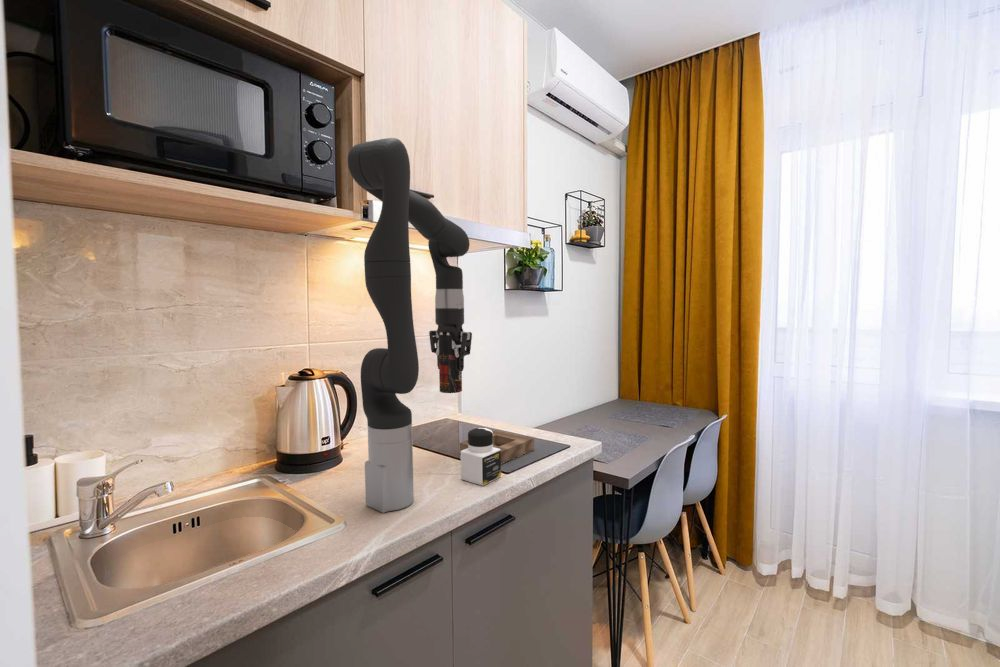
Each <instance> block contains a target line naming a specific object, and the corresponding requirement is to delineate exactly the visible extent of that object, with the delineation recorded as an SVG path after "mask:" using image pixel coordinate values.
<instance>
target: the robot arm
mask: <svg viewBox="0 0 1000 667" xmlns="http://www.w3.org/2000/svg"><path fill="white" fill-rule="evenodd" d="M347 166H348V167H347V168H348V170H349V173H350V175H351V177H352V179H353V180H354V181H355V183H356V184H357V185H358V186H359V187H361V188H362V189H363V190H365V191H366V192H367V193H369V194H370V195H372V196H373V197H375V198H376V199H378V200H379V201H381V203H382V205H381V210H380V214H379V217H378V219H377V222H376V225H375V226H374V228H373V229H372V232H371V234H370V237H369V239H368V242H367V243H366V247H365V249H364V254H363V255H364V258H363V262H364V263H363V264H364V281H365V287H366V290H367V292H368V295H369V298H370V299H371V302H372V303H373V305H374V307H375V308H376V310H377V312H378V313H379V315H380V317H381V320H382V322H383V325H384V328H385V333H386V340H387V341H386V343H387V348H383V347H377V348H376V347H375V348H373V349H370V350H368V351H367V353H366V354H365V355H364V356H363V359H362V363H361V366H360V387H361V389H360V390H361V399H362V400H361V401H362V409H363V413H364V415H365V417H366V421H367V446H368V447H367V449H368V460H365V462H364V483H365V485H364V488H365V489H364V490H365V505H366V506H367V507H369V508H371V509H373V510H376V511H377V512H381V513H382V514H383V513H386V512H391V511H398V510H402V509H404V508H407V507H409V506H411V505H412V504H413V503H414V501H415V498H414V496H415V490H414V456H413V455H414V454H413V453H414V452H413V414H412V413H413V412H412V410H411V409H410V407H408V406H406V404H404V403H403V402H401V400H400V399H399V398H398V396H397V394H398V395H406V394H409V393H411V392H412V391H413V390H414V388H415V386H416V385H417V382H418V379H419V372H420V371H419V369H420V366H419V356H418V348H417V342H416V335H415V327H414V316H413V315H414V314H413V303H412V270H411V254H410V253H411V252H410V236H409V234H410V231H409V230H410V229H409V226H410V225H409V224H411V225H412V227H413V228H415V230H416V231H417V232H418V233H419V234H420V235H421V236H422V237H423V238H425V239H426V240H428V251H429V255H430V258H431V260H432V264H433V268H434V272H435V297H434V299H435V300H434V304H435V305H434V307H435V309H434V311H435V312H434V313H435V325H437V329H436V330H430V331H429V332H428V336H429V343H430V350H431V353H434V354H435V355H436V356H437V357H436V358H437V359H436V361H437V363H436V364H437V365H436V366H437V369H438V370H439V335H454V339H455V341H457V340H459V341H460V339H461V344H460V345H456V344H455V342H454V340H453V339H452V349H453V350H454V353H455V356H456V358H455V371H456V372H461V371H462V372H463V371H464V368H465V364H464V363H465V361H464V360H465V359H464V358H465V356H469V355H471V347H472V339H473V333H472V332H471V331H464V328H463V325H464V324H465V296H464V290H463V289H464V281H463V280H464V277H463V269H462V268H461V267H459V266H455V265H450V263H449V261H448V259H447V258H456V257H457V258H459V257H463V256H465V255H466V254H467V253H468V251H469V249H470V244H471V243H470V238H469V235H468V234H467V233H466V231H465V230H464V229H463V228H462V227H461V226H459V225H458V224H456V223H455V222H453V221H452V220H450V219H448V218H446V217H445V216H444V215H443V213H441V211H440V210H439V209H438V207H436V205H435V204H434V203H433V202H431V201H430V200H429V199H427V198H426V197H424V196H422V195H420V194H419V193H416V192H414V191H412V189H411V190H410V188H411V163H410V156H409V153H408V150H407V148H406V146H405V144H404V143H403V141H401V139H399V138H396V137H388V138H380V139H375V140H370V141H364V142H360V143H357V144H354V146H351V148H350V149H349V152H348V155H347ZM458 348H460V352H459V350H458Z"/></svg>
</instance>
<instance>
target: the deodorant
mask: <svg viewBox="0 0 1000 667" xmlns="http://www.w3.org/2000/svg"><path fill="white" fill-rule="evenodd" d="M452 339H453V340H454V342H455V344H456V345H460V344H461V339H460V341H459V340H457V341H455V339H454V335H439V369H438V370H439V371H438V372H439V375H438V376H439V378H438V380H439V393H443V394H456V393H457V394H458V393H461V392H462V391H463V380H462V379H463V376H462V375H463V371H461V372H456V371H455V358H456V356H455V353H454V350H453V349H452ZM458 350H459V352H460V348H458Z"/></svg>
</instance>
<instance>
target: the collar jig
mask: <svg viewBox="0 0 1000 667" xmlns="http://www.w3.org/2000/svg"><path fill="white" fill-rule="evenodd" d="M491 431H492V430H491ZM492 432H493V447H495V448H499V449H500V450H501V463H503V462H506V461H509V460H511V459H513V458H515V459H517V458H516V457H518V456H520V457H522V456H524V455H523V454H525V455H527V454H529V453H531V452H534V451H535V439H534V437H529V436H524V435H522V434H521V435H520V434H516V433H513V432H512V433H511V432H507V431H502V430H497V429H496V430H493V431H492ZM467 448H469V447H468V439H466V440H464V441H460V442H459V454H460V453H461V451H462V450H464V449H467ZM533 450H534V451H533ZM528 452H529V453H528ZM526 453H527V454H526ZM521 455H522V456H521ZM518 458H519V457H518ZM513 460H514V459H513ZM511 461H512V460H511ZM509 462H510V461H509ZM506 463H507V462H506Z"/></svg>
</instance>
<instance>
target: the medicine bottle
mask: <svg viewBox="0 0 1000 667" xmlns="http://www.w3.org/2000/svg"><path fill="white" fill-rule="evenodd" d="M467 440H468V447H469V448H467V449H464V450H462V451H461V455H460V479H461V480H463V481H466V482H469V483H473V484H475V485H479V486H485V485H488V484H489V483H491V482H494V481H495V480H497V479H499V478H501V477H502V465H501V450H500V449H499V448H495V447H493V432H492V430H491V429H489V428H486V427H485V428H484V427H476V428H473V429H471V430H468V432H467Z"/></svg>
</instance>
